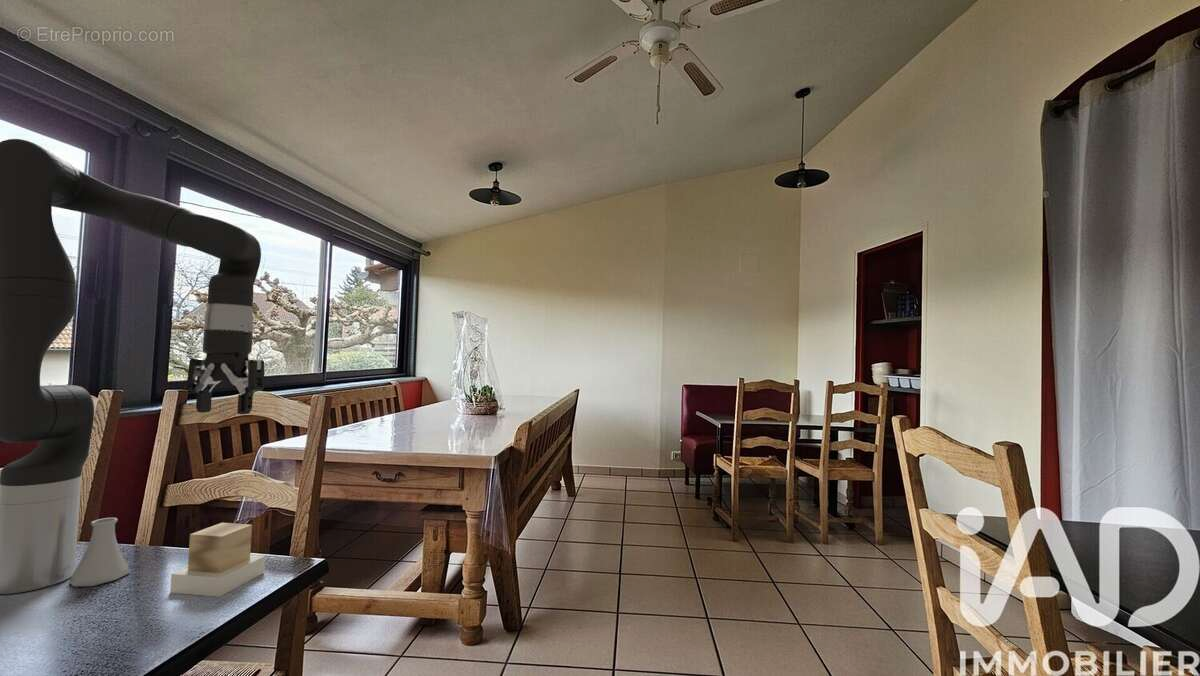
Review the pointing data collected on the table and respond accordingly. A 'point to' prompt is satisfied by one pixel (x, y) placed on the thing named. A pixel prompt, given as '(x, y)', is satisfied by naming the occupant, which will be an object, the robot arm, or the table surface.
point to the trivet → (216, 578)
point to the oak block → (219, 547)
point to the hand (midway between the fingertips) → (223, 413)
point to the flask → (101, 557)
